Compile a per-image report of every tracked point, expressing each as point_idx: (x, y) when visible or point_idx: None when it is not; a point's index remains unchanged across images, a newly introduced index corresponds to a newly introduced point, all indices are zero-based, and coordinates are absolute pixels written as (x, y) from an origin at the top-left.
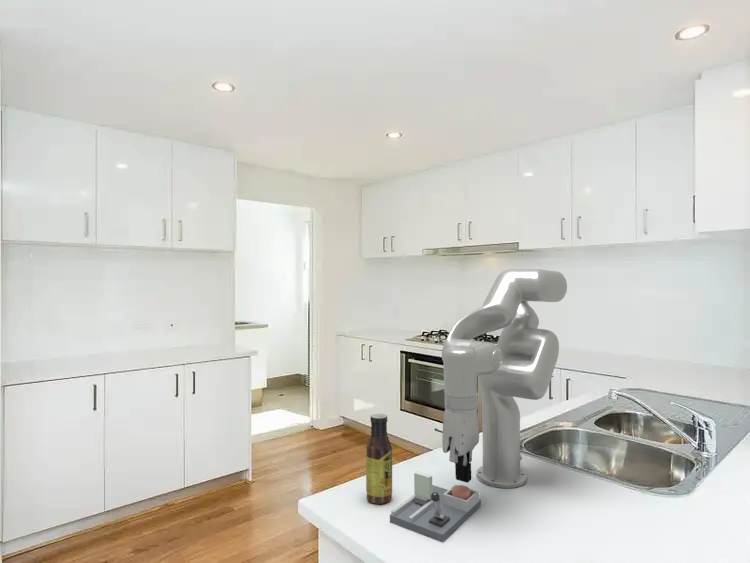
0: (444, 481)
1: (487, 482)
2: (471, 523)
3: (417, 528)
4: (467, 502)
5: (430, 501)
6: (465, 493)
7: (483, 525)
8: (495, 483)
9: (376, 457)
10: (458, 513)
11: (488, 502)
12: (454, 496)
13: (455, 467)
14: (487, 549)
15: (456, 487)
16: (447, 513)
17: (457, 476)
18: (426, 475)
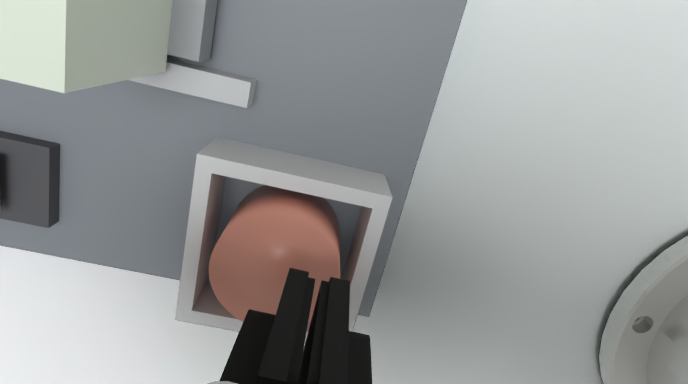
0: (637, 22)
1: (633, 293)
2: (177, 288)
3: None
4: (179, 317)
5: None
6: (232, 310)
7: (189, 336)
8: (615, 338)
9: None
10: (157, 245)
11: (421, 318)
12: (226, 226)
13: (272, 332)
14: (14, 379)
15: (283, 242)
16: (121, 191)
17: (248, 310)
18: (25, 23)
